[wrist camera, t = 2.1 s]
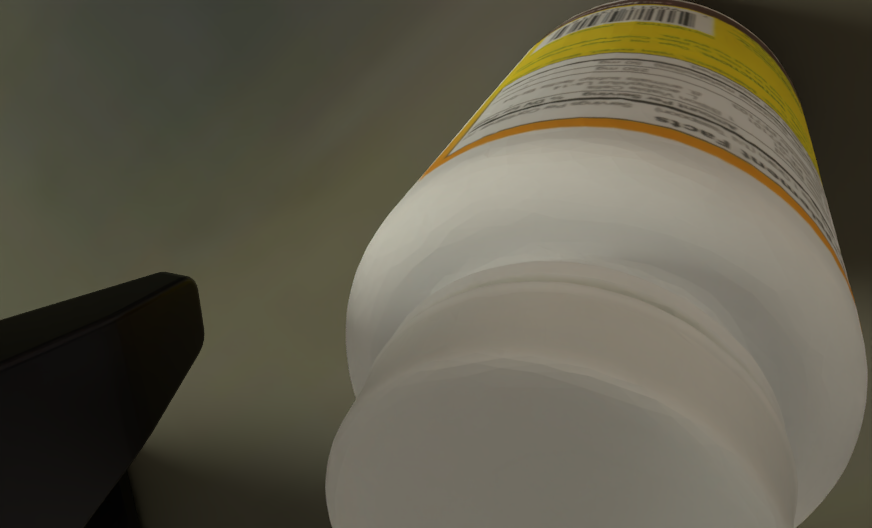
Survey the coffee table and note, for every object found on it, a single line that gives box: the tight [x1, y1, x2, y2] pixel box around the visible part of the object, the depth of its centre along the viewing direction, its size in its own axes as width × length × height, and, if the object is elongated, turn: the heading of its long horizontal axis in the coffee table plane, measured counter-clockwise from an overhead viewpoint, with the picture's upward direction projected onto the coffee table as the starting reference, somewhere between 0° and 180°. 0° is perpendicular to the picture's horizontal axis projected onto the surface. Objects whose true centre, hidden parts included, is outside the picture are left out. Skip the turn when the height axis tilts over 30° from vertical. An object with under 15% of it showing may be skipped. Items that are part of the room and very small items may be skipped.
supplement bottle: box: [325, 0, 867, 528], centre depth 11 cm, size 6×6×10 cm
